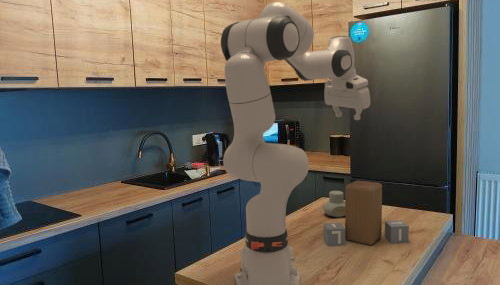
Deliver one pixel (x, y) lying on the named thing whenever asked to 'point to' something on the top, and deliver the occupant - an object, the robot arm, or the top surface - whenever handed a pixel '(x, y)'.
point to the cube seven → (334, 234)
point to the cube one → (396, 231)
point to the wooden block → (363, 212)
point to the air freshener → (335, 204)
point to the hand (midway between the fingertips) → (347, 118)
